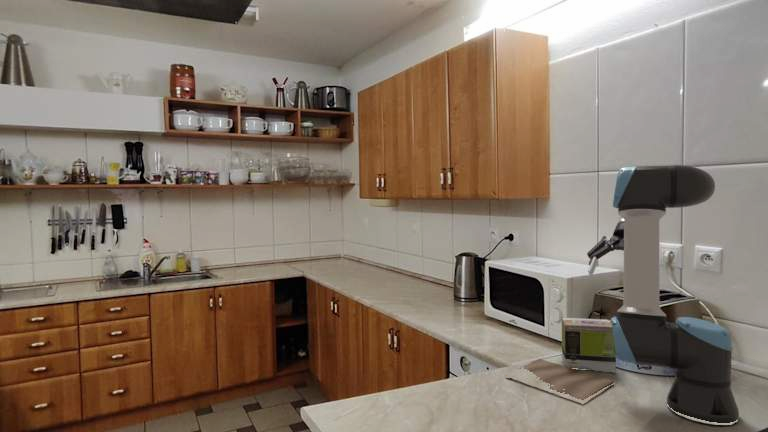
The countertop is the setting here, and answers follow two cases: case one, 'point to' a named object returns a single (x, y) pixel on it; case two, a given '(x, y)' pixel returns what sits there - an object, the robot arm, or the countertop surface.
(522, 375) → the countertop surface
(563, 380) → the walnut board
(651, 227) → the robot arm
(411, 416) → the countertop surface
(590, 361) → the tea box
